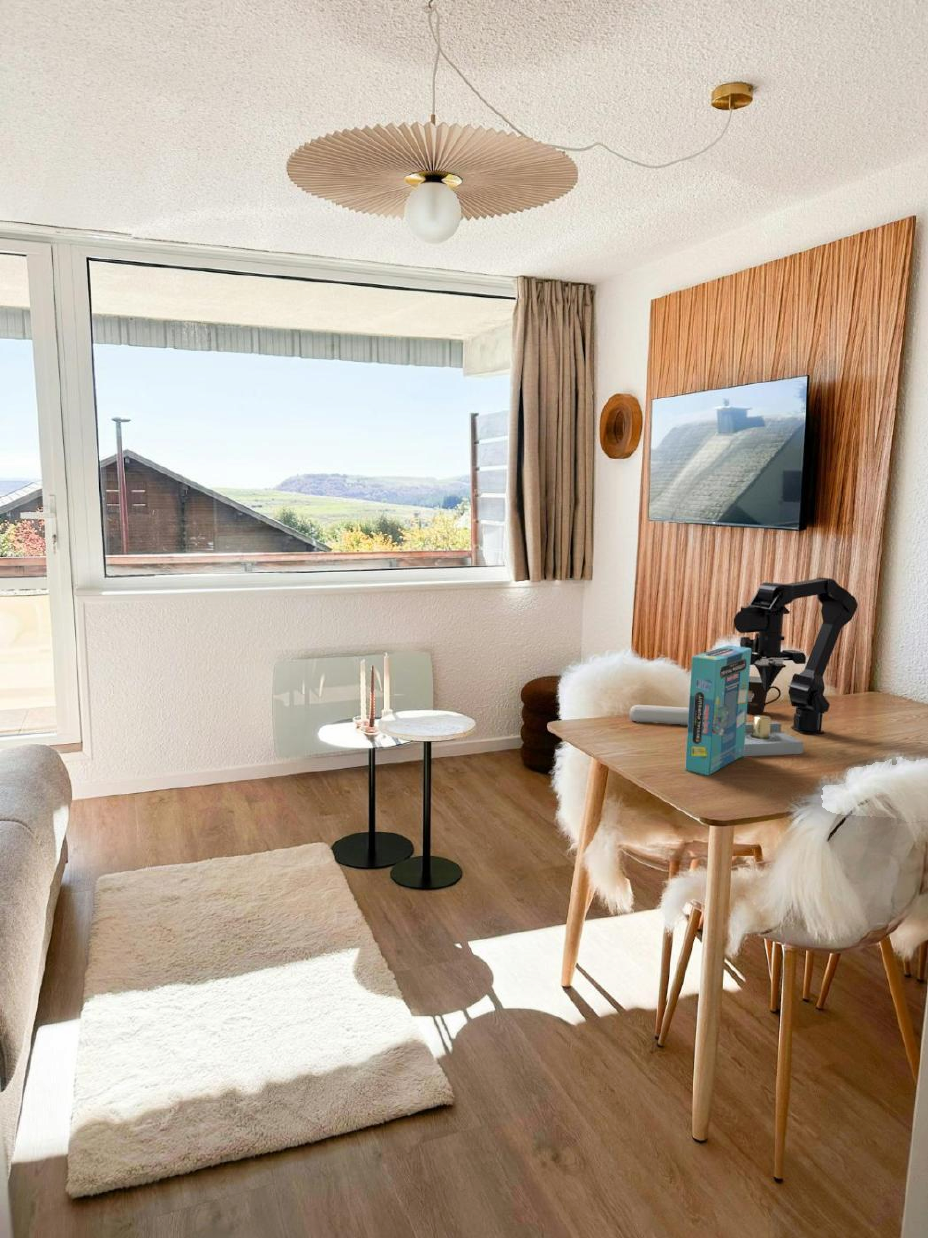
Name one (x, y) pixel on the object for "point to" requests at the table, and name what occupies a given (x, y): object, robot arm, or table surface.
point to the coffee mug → (757, 696)
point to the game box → (717, 708)
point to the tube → (659, 714)
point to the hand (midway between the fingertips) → (766, 689)
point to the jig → (771, 742)
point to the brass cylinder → (761, 727)
